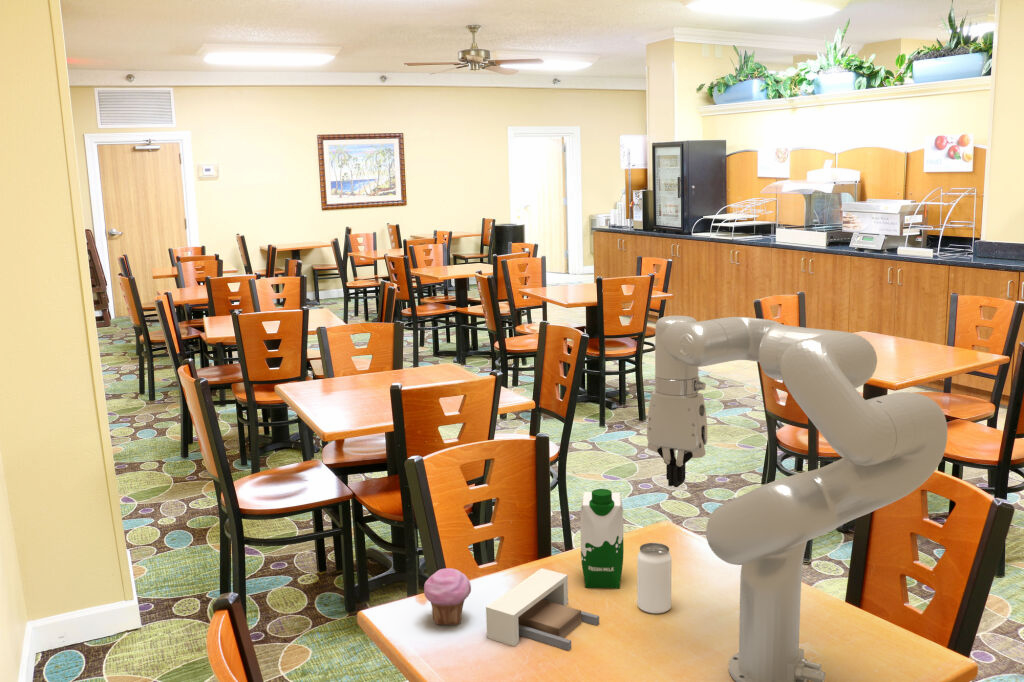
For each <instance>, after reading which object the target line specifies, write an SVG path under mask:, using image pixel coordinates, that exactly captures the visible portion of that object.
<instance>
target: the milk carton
mask: <svg viewBox="0 0 1024 682" xmlns="http://www.w3.org/2000/svg"><path fill="white" fill-rule="evenodd" d="M582 495H583V496H582V499H581V504H580V505H581V506H580V510H581V511H580V559H581V562H580V563H581V566H582V567H581V568H582V574H583V579H584V580H583V581H584V587H585V588H588V589H594V588H595V589H620V586H621V579H622V573H623V566H624V565H623V564H624V516H623V515H624V506H623V502H622V501H623V500H622V497H621V493H620V491H619V492H618V491H617V492H613V491H611V490H610V489H606V488H597V489H594V490H592V491H584V492H583V493H582Z"/></svg>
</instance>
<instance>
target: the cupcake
mask: <svg viewBox="0 0 1024 682" xmlns="http://www.w3.org/2000/svg"><path fill="white" fill-rule="evenodd" d="M423 585H424V586H423V590H424V591H423V593H424V597H425V598H426V600H428V602H430V604H431V610H432V613H431V614H432V619H433V622H434V623H435V624H436V625H440V626H445V625H446V626H447V625H449V626H450V625H452V626H457V625H460V624H461V622H462V615H463V614H462V613H463V608H464V603H465V600H466V599H467V598H468V597H469V596H470V594H471V592H472V585H471V581H470V579H469V578H468V577H467V575H466V574H465V573H463V572H461V571H460V570H459V569H455V568H451V567H449V568H447V567H446V568H441V569H438V570H437V571H435V572H434V573H433V574H431V575H430V576H429V577H428V579H427V580H426V581H425V582H424V584H423Z"/></svg>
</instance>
